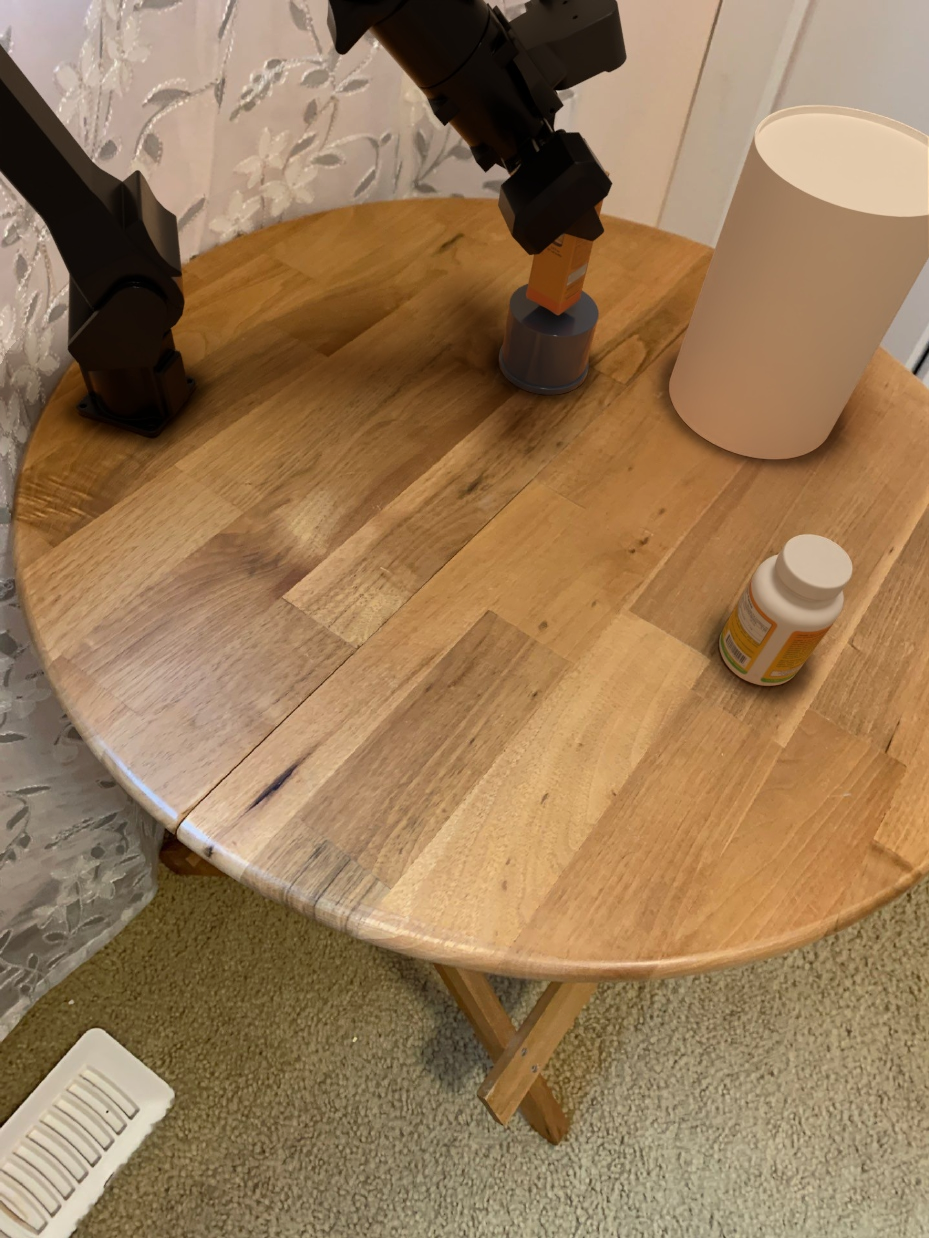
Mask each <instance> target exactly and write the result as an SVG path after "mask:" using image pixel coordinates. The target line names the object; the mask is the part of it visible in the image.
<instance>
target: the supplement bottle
mask: <svg viewBox="0 0 929 1238" xmlns="http://www.w3.org/2000/svg"><path fill="white" fill-rule="evenodd" d="M852 575H853V563H852V560H851V557H850V556H849V554H848V553H847V551H846V550H845V549H844V548H843V547H841V546H840V545H839V544H837V542H835V541H834V540H831V539H830V538H827V537H825V536H822V535H819V534H812V533H803V534H799V535H796V536H794V537H791V538H790V539H789V540H788V541H786V543H785V544H784V545H783V547H782V549H781V551H780V552H778V554H775V555H771V556H770V557H768V558H766V559H765V560H763V561H762V562H761V564H760V565H758V567H756V570H755V571H754V573H753V575H752V576H751V579H750V580H749V582H748V584H747V586H746V587H745V589H744V590H743V593H742V595H741V596H740V598H739V600H738V602H737V604H736V605H735V607H734V609H733V610H732V612H731V614H730V616H729V617H728V619H727V620H726V623H725V625H724V626H723V628H722V631H721V633H720V636H719V640H718V645H719V652H720V655H721V657H722V659H723V661H724V663H725V665H726V666H727V667H728V668H729V670H730V671H732V673H734V675H736V676H738V677H739V678H741V679H742V680H744V681H746V682H748V683H751V684H754V685H758V686H764V687H765V686H766V687H771V686H779V685H782V684H785V683H787V682H788V681H790V680H791V679H793V678H794V677H795V675H797V674H798V672H799V671H800V670H801V669H802V667H803V666H804V664H805V663H806V661H807V660H808V659H809V657H810V656H811V655H812V653H813V652H814V651H815V649H816V648H817V647H818V645H819V644H820V643H821V641H822V640H823V639H824V637H825V636H826V635H827V633H828V632H829V630H830V629H831V628H832V626H833V625H834V623H835V622H836V621H837V619H838V618H839V616H840V615H841V613H842V611H843V608H844V602H845V597H844V596H845V595H844V589H845V587H846V586H847V584H848V583H849V581H850V580H851V578H852Z"/></svg>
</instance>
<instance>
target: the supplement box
mask: <svg viewBox="0 0 929 1238" xmlns="http://www.w3.org/2000/svg"><path fill="white" fill-rule="evenodd" d="M605 172H606V173H607V175H608V177H609V178H610V172H609V171H607V170H605ZM603 204H604V199H603V200H602V201H601V202H599V203H598V204H597V205H596V206H595V209H596V211H597V214H598V216H599V217H600V216H601V212H602V207H603ZM593 247H594V241H588V240H585V239H581V238H578V237H574V236H571V235H567V234H564V233H563V234H562V235H561V236H560V237H559V238H557V239H556V240H555V241H554V242H553V243H552V244H550V245H549V246H548V247H547V248H546V249H545V250H543V251H542V252H541V253H540V254H536V255H533V258H532V263H531V268H530V272H529V273H530V274H529V278H528V282H527V284H528V287H527V292H526V298H527V299H529V300H531V301H533V302H535V303H537V304H539V305H541V306H543V307H545V308H547V309H548V310H550V311H551V312H553V313H554V314H556V315H560V314H561V313H563V312H564V311H566V310H567V309H568V308H570V307H571V306H572V305H574V304H575V303H576V302H578V301H579V299H580V296H581V292H582V291H583V288H584V284H585V279H586V274H587V270H588V268H589V267H588V266H589V264H590V258H591V254H592V251H593V250H592V249H593Z"/></svg>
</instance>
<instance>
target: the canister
mask: <svg viewBox="0 0 929 1238" xmlns="http://www.w3.org/2000/svg"><path fill="white" fill-rule="evenodd" d="M736 183H737V184H736V186H735V189H734V192H733V194H732V198H731V201H730V204H729V206H728V209H727V212H726V215H725V219H724V221H723V225H722V226H721V227H722V228H721V230H720V232H719V237H718V239H717V241H716V243H715V244H716V245H715V248H714V250H713V253H712V256H711V259H710V262H709V265H708V267H707V271H706V274H705V276H704V279H703V282H702V285H701V288H700V291H699V294H698V296H697V300H696V302H695V306H694V309H693V311H692V314H691V317H690V320H689V323H688V326H687V329H686V331H685V334H684V337H683V340H682V343H681V346H680V348H679V352H678V355H677V357H676V360H675V364H674V366H673V369H672V372H671V375H670V377H669V382H668V392H669V397H670V401H671V403H672V406H673V408H674V410H675V412H676V413H677V414H678V416H679V417H680V419H681V420H682V421H683V422H684V423H685V424H686V425H687V426H688V427H689V428H690V429H691V430H692V431H693V432H695V434H697V435H698V436H700V437H701V438H703V439H705V440H706V441H708V442H709V443H710V444H713V445H714V446H717V447H719V448H721V449H723V450H726V451H729V452H731V453H734V454H737V455H740V456H743V457H748V458H753V459H760V460H787V459H792V458H793V459H794V458H797V457H802V456H805V455H807V454H809V453H811V452H813V451H815V450H816V449H818V448H819V447H820V446H821V445H822V444H824V443H825V441H826V440H827V439H828V437H829V435H830V434H831V432H832V430H833V428H834V426H835V425H836V423H837V421H838V419H839V418H840V416H841V414H842V413H843V410H844V409H845V407H846V406H847V404H848V402H849V400H850V398H851V397H852V394H853V393H854V391H855V389H856V387H857V385H858V384H859V383H860V380H861V379H862V377H863V375H864V373H865V372H866V370H867V368H868V366H869V364H870V363H871V361H872V359H873V357H874V356H875V354H876V352H877V351H878V349H879V347H880V345H881V343H882V342H883V340H884V338H885V336H886V334H887V333H888V331H889V329H890V327H891V325H892V324H893V322H894V320H895V318H896V317H897V315H898V313H899V312H900V310H901V308H902V306H903V305H904V303H905V300H906V299H907V297H908V295H909V294H910V292H911V290H912V288H913V287H914V285H915V283H916V282H917V279H918V277H919V276H920V274H921V272H922V271H923V269H924V267H925V266H926V264H927V262H928V260H929V135H927V134H926V133H924V132H922V131H920V130H919V129H917V128H915V127H912V126H910V125H908V124H906V123H904V122H901V121H899V120H897V119H894V118H891V117H887V116H885V115H882V114H878V113H875V112H871V111H867V110H863V109H857V108H855V107H854V108H853V107H847V106H840V105H831V104H805V105H796V106H790V107H785V108H783V109H779V110H776V111H774V112H773V113H770V114H769V115H767V116H766V117H765V118H763V119H762V120H761V121H760V122H759V123H758V125H757V126H756V129H755V131H754V134H753V137H752V140H751V142H750V145H749V149H748V152H747V154H746V158H745V161H744V162H743V166H742V169H741V172H740V175H739V178H738V181H737V182H736Z"/></svg>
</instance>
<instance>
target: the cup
mask: <svg viewBox="0 0 929 1238" xmlns="http://www.w3.org/2000/svg"><path fill="white" fill-rule="evenodd" d="M527 287H528V283H525V284H523V285H521V286H519V287H518V288H517V289H516V290H514V291H513V293H512V295H511V296H510V298H509V301H508V302H509V303H508V309H507V316H506V322H505V330H504V336H503V343H502V345H501V347H500V348H499V352H498V366H499V367H498V368H499V369H500V371H501V373H502V374H503V376H504V377H505V378H506V380H507V381H509V382H510V383H511V384H513V385H514V386H516V387H517V388H519V389H522V390H523V391H526V392H529V393H532V394H536V395H545V396H557V395H563V394H566V393H570V392H572V391H574V390H576V389H578V388H579V387H580V386H581V385H582V384H583V383H584V382H585V380H586V379H587V377H588V376H587V375H588V371H589V368H590V367H589V366H590V364H589V359H590V354H591V350H592V345H593V341H594V337H595V333H596V329H597V326H598V321H599V317H600V311H599V308H598V305H597V303H596V301H595V300H594V299H593V297H591V295H589V294H588V293H587V292H585V291H584V290H582V292H581V296H580V299H579V301H578V302H576V303H575V304H574V305H572V306H571V307H570V308H568V309H567V310H566V311H564V312H563V313H561V314H560V315H556V314H554V313H553V312H551V311H550V310H548V309H547V308H545V307H543V306H541V305H539V304H537V303H535V302H533V301H531V300H529V299H527V298H526V292H527Z"/></svg>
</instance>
